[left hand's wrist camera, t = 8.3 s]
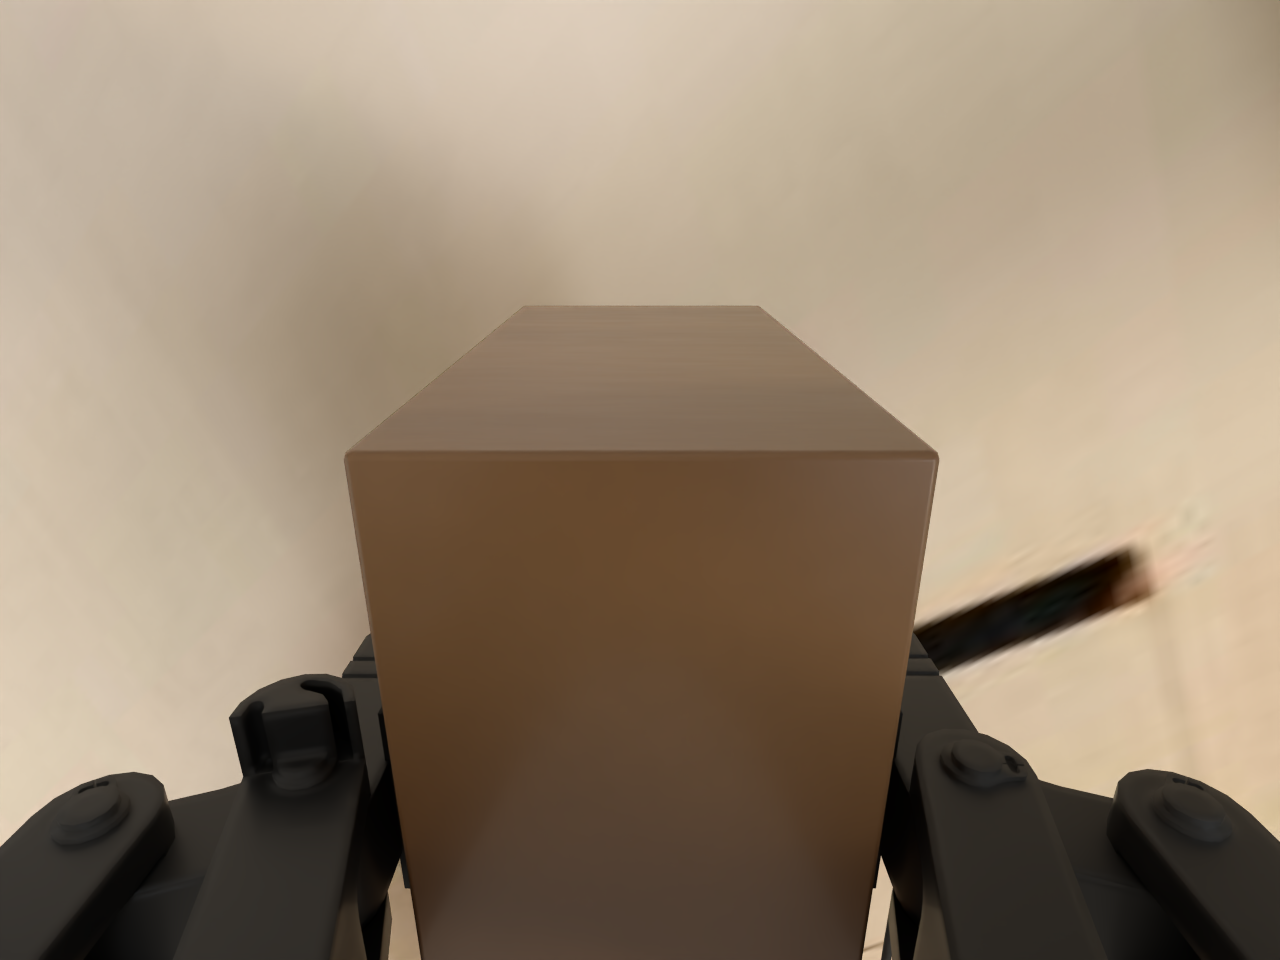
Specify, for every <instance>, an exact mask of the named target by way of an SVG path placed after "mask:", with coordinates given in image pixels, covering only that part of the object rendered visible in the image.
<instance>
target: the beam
mask: <svg viewBox="0 0 1280 960" xmlns="http://www.w3.org/2000/svg"><path fill="white" fill-rule="evenodd" d="M344 463H345V469H346V476H347V482H348V489H349V495H350V502H351V508H352V514H353V521H354V527H355V534H356V540H357V547H358V553H359V560H360V566H361V573H362V579H363V586H364V592H365V599H366V605H367V611H368V618H369V624H370V631H371V637H372V644H373V650H374V657H375V663H376V670H377V676H378V683H379V689H380V696H381V702H382V708H383V715H384V721H385V728H386V734H387V741H388V747H389V754H390V760H391V767H392V773H393V780H394V786H395V793H396V799H397V805H398V812H399V818H400V825H401V831H402V838H403V844H404V851H405V857H406V864H407V870H408V877H409V883H410V890H411V896H412V902H413V909H414V915H415V922H416V928H417V935H418V941H419V948H420V954H421V960H862V954H863V948H864V941H865V935H866V929H867V922H868V916H869V909H870V903H871V896H872V890H873V883H874V877H875V871H876V864H877V858H878V851H879V845H880V838H881V832H882V825H883V819H884V813H885V806H886V800H887V793H888V787H889V780H890V774H891V767H892V761H893V755H894V748H895V742H896V735H897V729H898V722H899V716H900V709H901V703H902V697H903V690H904V684H905V677H906V671H907V664H908V658H909V651H910V645H911V639H912V632H913V626H914V619H915V613H916V606H917V600H918V593H919V587H920V581H921V574H922V568H923V561H924V555H925V548H926V542H927V535H928V529H929V523H930V516H931V510H932V503H933V497H934V490H935V484H936V477H937V471H938V465H939V456H938V453H937V452H936V451H935V450H934V449H933V448H931V447H930V446H929V445H928V444H926V443H925V442H924V441H923V440H922V439H920V438H919V437H918V436H917V435H915V434H914V433H913V432H912V431H911V430H909V429H908V428H907V427H906V426H905V425H903V424H902V423H901V422H900V421H898V420H897V419H896V418H895V417H894V416H892V415H891V414H890V413H889V412H887V411H886V410H885V409H884V408H883V407H881V406H880V405H879V404H878V403H876V402H875V401H874V400H873V399H872V398H870V397H869V396H868V395H867V394H865V393H864V392H863V391H862V390H861V389H859V388H858V387H857V386H856V385H855V384H853V383H852V382H851V381H850V380H848V379H847V378H846V377H845V376H844V375H842V374H841V373H840V372H839V371H837V370H836V369H835V368H834V367H833V366H831V365H830V364H829V363H828V362H826V361H825V360H824V359H823V358H822V357H820V356H819V355H818V354H817V353H815V352H814V351H813V350H812V349H811V348H809V347H808V346H807V345H806V344H805V343H803V342H802V341H801V340H800V339H798V338H797V337H796V336H795V335H794V334H792V333H791V332H790V331H789V330H787V329H786V328H785V327H784V326H783V325H781V324H780V323H779V322H778V321H776V320H775V319H774V318H773V317H772V316H770V315H769V314H768V313H767V312H765V311H764V310H763V309H762V308H761V307H759V306H524V307H522V308H521V309H520V310H519V311H518V312H516V313H515V314H514V315H513V316H511V317H510V318H509V319H508V320H507V321H505V322H504V323H503V324H502V325H500V326H499V327H498V328H497V329H496V330H494V331H493V332H492V333H491V334H490V335H488V336H487V337H486V338H485V339H483V340H482V341H481V342H480V343H479V344H477V345H476V346H475V347H474V348H472V349H471V350H470V351H469V352H468V353H466V354H465V355H464V356H463V357H462V358H460V359H459V360H458V361H457V362H455V363H454V364H453V365H452V366H451V367H449V368H448V369H447V370H446V371H444V372H443V373H442V374H441V375H440V376H438V377H437V378H436V379H435V380H433V381H432V382H431V383H430V384H429V385H427V386H426V387H425V388H424V389H423V390H421V391H420V392H419V393H418V394H416V395H415V396H414V397H413V398H412V399H410V400H409V401H408V402H407V403H405V404H404V405H403V406H402V407H401V408H399V409H398V410H397V411H396V412H395V413H393V414H392V415H391V416H390V417H388V418H387V419H386V420H385V421H384V422H382V423H381V424H380V425H379V426H377V427H376V428H375V429H374V430H373V431H371V432H370V433H369V434H368V435H366V436H365V437H364V438H363V439H362V440H360V441H359V442H358V443H357V444H356V445H354V446H353V447H352V448H351V449H349V450H348V451H347V452H346V454H345V457H344Z"/></svg>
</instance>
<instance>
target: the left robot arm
mask: <svg viewBox="0 0 1280 960" xmlns="http://www.w3.org/2000/svg"><path fill="white" fill-rule="evenodd" d="M229 720H230V724H231V728H232V732H233V737H234V741H235V745H236V749H237V753H238V757H239V761H240V765H241V769H242V773H243V779H242V782H241V783H240V784H236V785H233V786H230V787H226V788H223V789H220V790H215V791H211V792H206V793H202V794H198V795H193V796H189V797H185V798H180V799H176V800H171V801H168V799H167V795H166V792H165V789H164V785H163V784H162V783H161V782H160V781H159V780H157V779H156V778H155V777H154V776H153V775H148V774H142V773H137V772H130V773H122V774H113V775H108V776H105V777H102V778H99V779H96V780H92V781H90V782H87V783H84V784H81V785H79V786H77V787H75V788H73V789H71V790H70V791H68V792H66V793H64V794H62V795H60V796H58V797H56V798H54V799H53V800H52V801H51V802H49V803H48V804H47V805H45V806H44V807H43V808H42V809H40V810H39V811H38V812H37V813H35V814H34V815H33V816H31V817H30V818H29V819H28V820H27V821H26V822H25V823H24V824H23V825H22V826H21V827H20V828H19V829H18V830H17V831H16V832H15V833H14V834H13V835H12V836H11V837H10V838H9V839H8V840H7V841H6V842H5V843H4V844H3V845H2V846H1V847H0V960H388V954H389V944H390V934H391V923H392V916H391V909H390V902H389V896H388V889H389V886H390V883H391V880H392V878H393V875H394V872H395V870H396V867H397V864H398V862H399V859H400V860H401V867H402V873H403V880H404V886H405V888H410V883H409V877H408V870H407V864H406V857H405V851H404V844H403V838H402V831H401V825H400V818H399V812H398V805H397V799H396V793H395V786H394V780H393V773H392V767H391V760H390V754H389V747H388V741H387V734H386V728H385V721H384V715H383V708H382V702H381V696H380V689H379V683H378V676H377V670H376V663H375V657H374V650H373V644H372V637H371V634H369V635H368V636H366V638H365V639H364V641H363V643H362V644H361V646H360V647H359V649H358V650H357V652H356V653H355V655H354V657H353V661H350V663H349V664H348V666H347V667H346V669H345V670H344V672H343V674H342V678H340V677H336V676H332V675H328V674H304V675H300V676H296V677H291V678H287V679H282V680H280V681H277V682H275V683H273V684H270V685H268V686H266V687H264V688H261V689H259V690H257V691H256V692H255V693H253V694H252V695H250V696H249V697H248V698H246V699H245V700H243V701H242V702H241V703H240V704H239V705H238V706H237V708H236V709H235V710H234V712H233V713H232V714H231V716H230V717H229ZM881 857H882V859H883V862H884V865H885V867H886V870H887V873H888V875H889V878H890V881H891V883H892V886H893V890H892V896H891V902H890V908H889V914H888V920H887V926H886V932H885V938H884V944H883V951H882V958H881V960H891V957H892V960H1280V842H1279V841H1278V840H1277V839H1276V838H1275V837H1274V836H1273V835H1272V834H1271V833H1270V832H1269V831H1268V830H1267V829H1266V828H1265V827H1264V826H1263V825H1262V824H1261V823H1260V822H1259V821H1258V820H1257V819H1256V818H1255V817H1254V816H1253V815H1252V814H1251V813H1249V812H1248V811H1247V810H1245V809H1244V808H1243V807H1242V806H1240V805H1239V804H1238V803H1236V802H1235V801H1234V800H1233V799H1231V798H1230V797H1229V796H1227V795H1226V794H1224V793H1222V792H1220V791H1218V790H1216V789H1214V788H1212V787H1210V786H1208V785H1207V784H1205V783H1203V782H1201V781H1198V780H1195V779H1192V778H1190V777H1186V776H1183V775H1180V774H1177V773H1174V772H1168V771H1160V770H1151V769H1145V770H1140V771H1134V772H1129V773H1128V774H1126V775H1125V776H1124V777H1123V778H1122V779H1121V780H1120V781H1119V782H1118V784H1117V788H1116V791H1115V795H1114V798H1109V797H1105V796H1100V795H1096V794H1092V793H1087V792H1083V791H1078V790H1074V789H1070V788H1065V787H1061V786H1058V785H1054V784H1051V783H1048V782H1044V781H1041V780H1039V779H1038V778H1037V776H1036V774H1035V772H1034V771H1033V769H1032V768H1031V766H1030V765H1029V763H1028V762H1027V760H1026V759H1024V758H1023V757H1022V756H1021V755H1020V754H1018V753H1017V752H1016V751H1015V750H1013V749H1012V748H1011V747H1010V746H1008V745H1006V744H1004V743H1002V742H1000V741H998V740H996V739H994V738H992V737H990V736H988V735H985V734H981V733H978V731H977V730H976V728H975V726H974V725H973V723H972V722H971V720H970V719H969V717H968V716H967V714H966V713H965V711H964V710H963V708H962V706H961V705H960V703H959V702H958V700H957V699H956V697H955V696H954V694H953V693H952V691H951V689H950V688H949V686H948V685H947V683H946V682H945V680H944V679H943V677H942V676H939V671H938V669H937V668H936V666H935V665H934V663H933V662H932V660H931V659H928V654H927V653H926V651H925V649H924V648H923V646H922V645H921V643H920V642H919V640H918V639H917V637H916V636H915V634H914V633H912V639H911V645H910V651H909V658H908V664H907V671H906V677H905V684H904V690H903V697H902V703H901V709H900V716H899V722H898V729H897V735H896V742H895V748H894V755H893V761H892V767H891V774H890V780H889V787H888V793H887V800H886V806H885V813H884V819H883V825H882V832H881V838H880V845H879V851H878V858H877V864H876V871H875V877H874V883H873V888H876V883H877V877H878V870H879V864H880V858H881Z"/></svg>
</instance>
